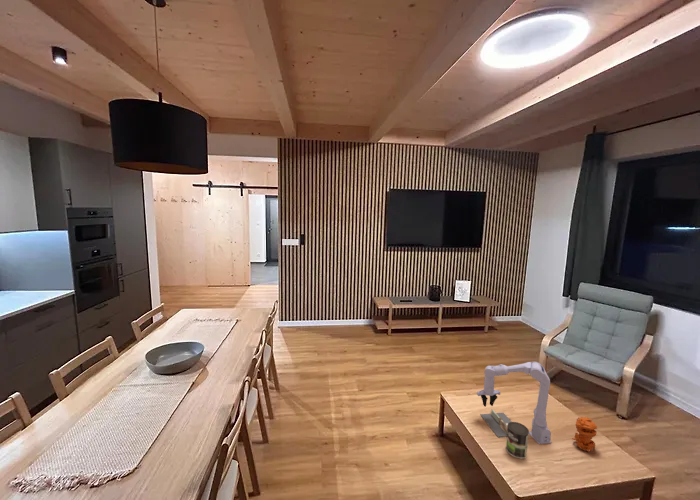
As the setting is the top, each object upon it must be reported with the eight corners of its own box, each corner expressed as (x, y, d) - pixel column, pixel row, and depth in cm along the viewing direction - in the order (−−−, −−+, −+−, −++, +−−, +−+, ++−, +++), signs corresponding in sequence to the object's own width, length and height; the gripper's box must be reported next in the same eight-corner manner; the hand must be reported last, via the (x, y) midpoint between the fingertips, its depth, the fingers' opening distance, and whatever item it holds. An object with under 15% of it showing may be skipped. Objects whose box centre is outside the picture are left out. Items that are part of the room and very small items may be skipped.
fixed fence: (510, 435, 180) (510, 427, 179) (507, 435, 180) (508, 427, 179) (500, 424, 189) (501, 416, 189) (498, 424, 189) (498, 416, 188)
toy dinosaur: (586, 456, 165) (589, 426, 163) (567, 442, 175) (570, 413, 173) (601, 452, 168) (605, 422, 166) (582, 438, 178) (584, 409, 176)
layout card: (523, 435, 180) (523, 434, 180) (498, 437, 179) (498, 436, 179) (503, 413, 200) (503, 412, 200) (480, 415, 199) (480, 414, 199)
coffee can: (517, 461, 162) (519, 436, 160) (501, 447, 171) (503, 424, 170) (531, 455, 165) (533, 432, 164) (515, 442, 175) (517, 419, 173)
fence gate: (500, 423, 190) (500, 417, 189) (498, 423, 189) (498, 418, 189) (492, 414, 198) (492, 409, 198) (490, 414, 198) (490, 409, 198)
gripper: (496, 381, 195) (495, 400, 197) (474, 382, 194) (473, 402, 195) (502, 387, 188) (501, 407, 190) (480, 388, 187) (479, 409, 188)
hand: (487, 405), depth 192 cm, fingers open, 4 cm apart
